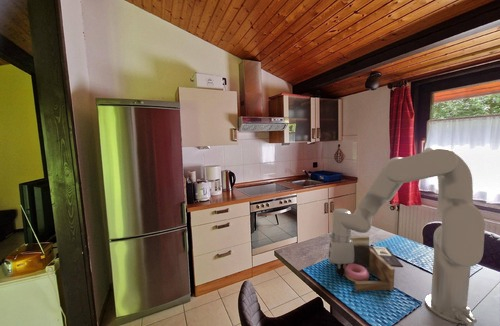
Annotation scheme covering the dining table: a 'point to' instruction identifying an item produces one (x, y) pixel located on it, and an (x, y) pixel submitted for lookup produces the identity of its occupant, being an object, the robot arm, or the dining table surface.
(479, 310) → the dining table surface
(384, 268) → the wooden frame
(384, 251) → the chocolate bar
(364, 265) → the dark grey square tile
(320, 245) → the dining table surface
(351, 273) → the doughnut
